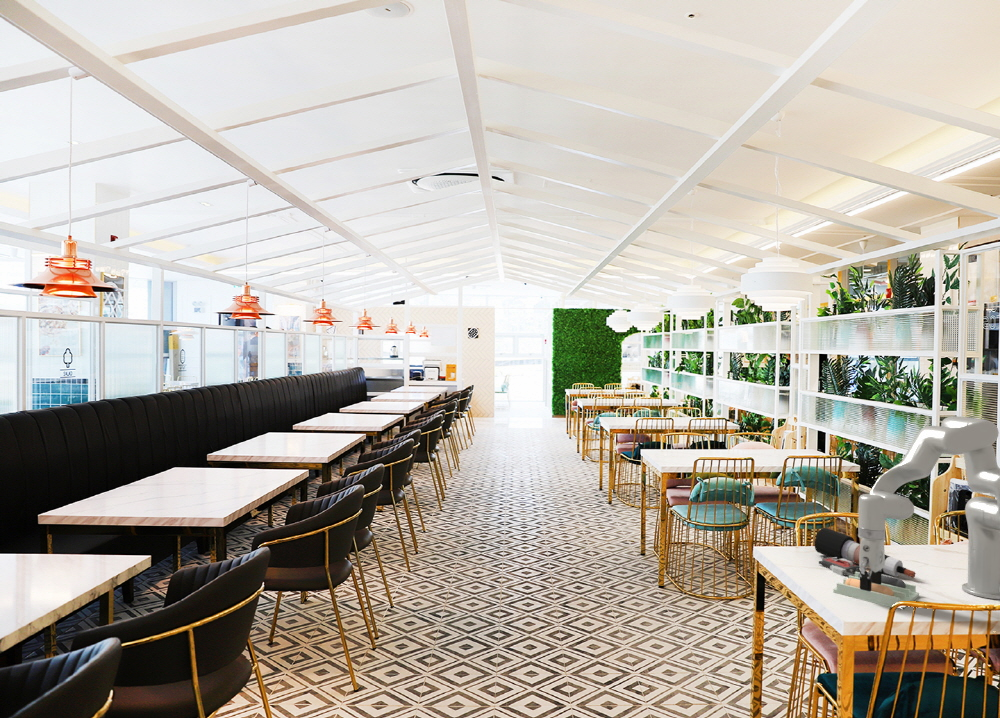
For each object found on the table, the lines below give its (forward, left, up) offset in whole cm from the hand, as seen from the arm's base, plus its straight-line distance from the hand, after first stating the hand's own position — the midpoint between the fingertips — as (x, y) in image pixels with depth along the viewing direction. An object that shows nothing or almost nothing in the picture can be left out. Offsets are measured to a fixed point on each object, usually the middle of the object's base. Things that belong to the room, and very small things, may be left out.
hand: (870, 586), depth 208 cm
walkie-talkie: (+15, -22, -4) cm, 26 cm away
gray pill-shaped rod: (0, -11, -1) cm, 11 cm away
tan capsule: (0, 0, -1) cm, 1 cm away
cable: (+12, -34, -4) cm, 36 cm away
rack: (0, -6, -4) cm, 7 cm away
